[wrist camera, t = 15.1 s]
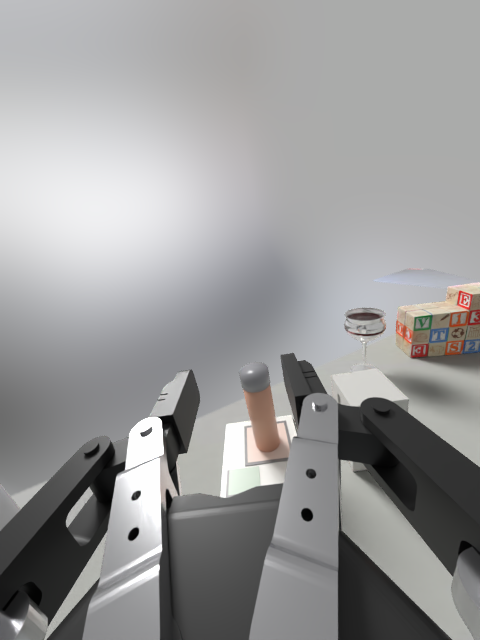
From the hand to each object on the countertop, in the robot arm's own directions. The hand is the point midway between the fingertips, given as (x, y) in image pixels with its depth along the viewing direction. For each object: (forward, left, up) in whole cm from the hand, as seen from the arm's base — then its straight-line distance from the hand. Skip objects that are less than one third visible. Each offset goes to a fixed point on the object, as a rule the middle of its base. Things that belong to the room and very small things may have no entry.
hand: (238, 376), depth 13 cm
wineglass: (+21, +28, -22) cm, 42 cm away
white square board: (-1, +13, -22) cm, 26 cm away
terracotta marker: (0, +14, -21) cm, 26 cm away
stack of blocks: (+42, +32, -22) cm, 57 cm away
